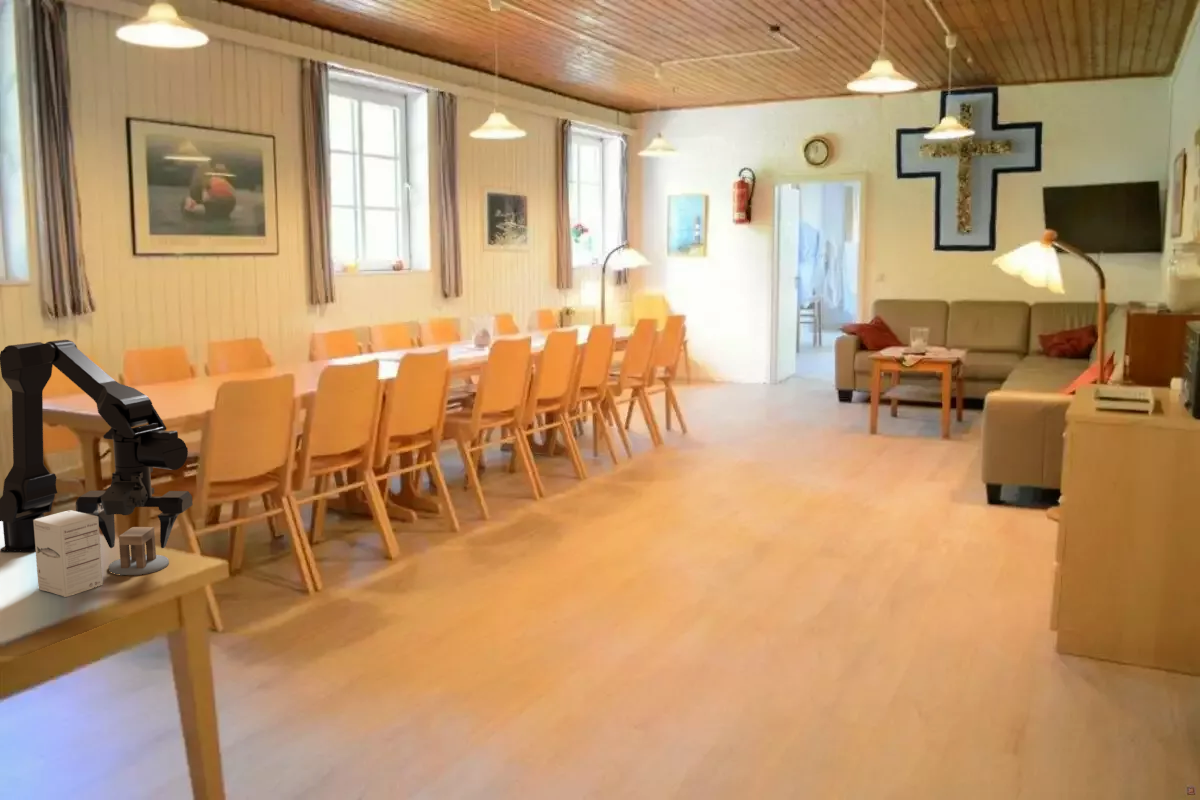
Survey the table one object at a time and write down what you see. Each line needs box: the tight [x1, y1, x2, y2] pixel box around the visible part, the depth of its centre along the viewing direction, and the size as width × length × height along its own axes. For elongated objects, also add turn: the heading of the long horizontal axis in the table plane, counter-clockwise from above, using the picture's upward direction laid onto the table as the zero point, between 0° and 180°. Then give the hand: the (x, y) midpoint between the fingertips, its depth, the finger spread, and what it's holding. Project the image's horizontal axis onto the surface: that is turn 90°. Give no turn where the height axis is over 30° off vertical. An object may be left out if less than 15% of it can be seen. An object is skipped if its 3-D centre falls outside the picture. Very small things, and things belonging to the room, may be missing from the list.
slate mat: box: [108, 554, 170, 576], centre depth 183 cm, size 10×10×1 cm
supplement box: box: [33, 509, 103, 598], centre depth 171 cm, size 7×7×13 cm
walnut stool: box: [118, 526, 157, 568], centre depth 183 cm, size 6×4×6 cm
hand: (137, 547), depth 183 cm, fingers open, 9 cm apart
